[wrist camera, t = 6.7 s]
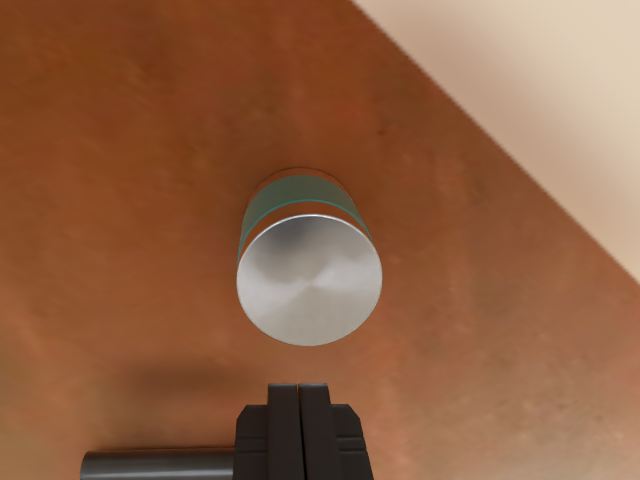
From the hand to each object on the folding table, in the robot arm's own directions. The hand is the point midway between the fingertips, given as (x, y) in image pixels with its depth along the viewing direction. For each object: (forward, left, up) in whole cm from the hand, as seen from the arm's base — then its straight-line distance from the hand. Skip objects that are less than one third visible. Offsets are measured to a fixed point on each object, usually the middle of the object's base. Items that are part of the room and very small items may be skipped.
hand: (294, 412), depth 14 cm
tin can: (-1, +1, -13) cm, 13 cm away
